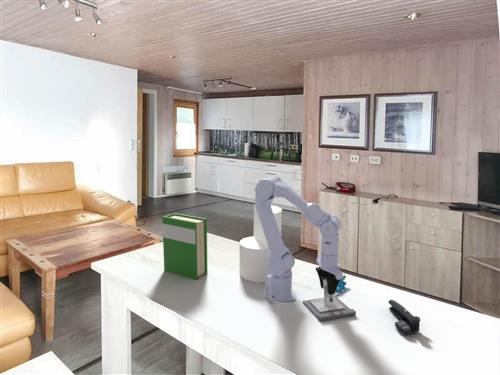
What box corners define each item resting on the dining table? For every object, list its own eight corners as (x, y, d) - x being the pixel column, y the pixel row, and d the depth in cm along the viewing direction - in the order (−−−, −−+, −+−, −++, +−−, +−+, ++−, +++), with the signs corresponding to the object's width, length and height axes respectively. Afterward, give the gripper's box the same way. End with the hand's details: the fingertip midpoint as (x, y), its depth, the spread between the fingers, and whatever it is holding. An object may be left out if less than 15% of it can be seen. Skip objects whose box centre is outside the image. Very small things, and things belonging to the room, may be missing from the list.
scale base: (320, 322, 114) (320, 316, 114) (302, 302, 127) (302, 298, 126) (355, 316, 118) (356, 311, 118) (335, 298, 130) (335, 293, 130)
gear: (333, 292, 131) (322, 267, 136) (323, 298, 135) (313, 274, 140) (353, 288, 138) (341, 265, 143) (343, 295, 141) (332, 271, 146)
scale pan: (320, 313, 118) (320, 311, 118) (309, 302, 125) (309, 300, 125) (345, 309, 121) (345, 307, 121) (333, 298, 128) (333, 297, 128)
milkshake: (318, 301, 125) (319, 274, 123) (332, 300, 126) (334, 273, 124) (322, 307, 120) (323, 279, 119) (337, 306, 121) (339, 278, 120)
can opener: (425, 338, 106) (426, 321, 105) (401, 338, 106) (403, 321, 105) (400, 308, 124) (402, 293, 123) (380, 308, 124) (381, 293, 123)
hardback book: (207, 273, 151) (206, 218, 147) (196, 280, 145) (195, 222, 141) (176, 265, 160) (174, 213, 156) (164, 270, 154) (162, 216, 150)
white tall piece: (271, 263, 162) (272, 203, 158) (287, 279, 146) (288, 212, 141) (234, 268, 157) (234, 206, 152) (246, 284, 141) (247, 215, 136)
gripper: (352, 259, 114) (349, 299, 116) (329, 245, 128) (327, 280, 130) (332, 261, 112) (330, 302, 114) (311, 246, 126) (310, 283, 128)
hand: (327, 291), depth 122 cm, fingers closed on milkshake, 4 cm apart
